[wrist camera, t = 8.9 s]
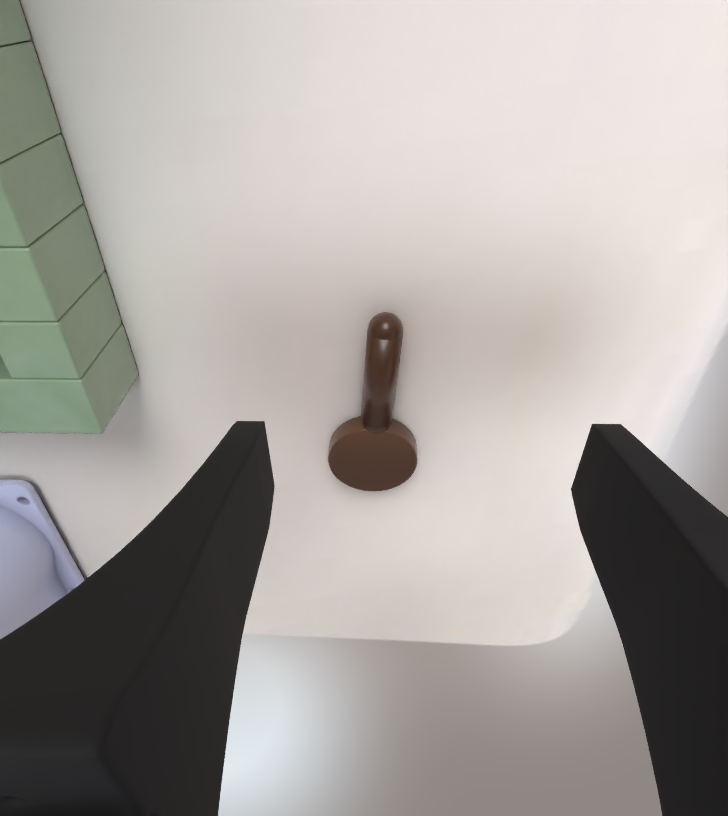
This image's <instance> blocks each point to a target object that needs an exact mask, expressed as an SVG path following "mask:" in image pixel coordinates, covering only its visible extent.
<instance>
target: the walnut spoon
mask: <svg viewBox="0 0 728 816" xmlns="http://www.w3.org/2000/svg"><path fill="white" fill-rule="evenodd" d="M402 337H403V326H402V323H401V321H400V319H399V318H398V317H397V316H395V315H394V314H392V313H388V312H383V313H380V314H377V315H376V316H374V317H373V318H372V319H371V321H370V323H369V326H368V333H367V346H366V359H365V372H364V385H363V398H362V411H361V416H360V417H356V418H353V419H351V420H348V421H347V422H345V423H343V424H342V425H341V426H340V427H339V428H338V429H337V430H336V431H335V432H334V433H333V435H332V437H331V440H330V447H329V456H328V462H329V466H330V468H331V471H332V472H333V474H334V475H335V476H336V477H337V478H338V479H339V480H340V481H341V482H343V483H344V484H346V485H348V486H350V487H353V488H356V489H359V490H364V491H382V490H388V489H391V488H394V487H397V486H399V485H401V484H402V483H404V482H405V481H406V480H408V479H409V478H410V477H411V475H412V474H413V473H414V471H415V468H416V465H417V448H416V441H415V438H414V436H413V434H412V433H411V432H410V430H409V429H408V428H407V427H406V426H404V425H403V424H402V423H400V422H398V421H396V420H394V419H392V416H393V408H394V400H395V392H396V384H397V376H398V368H399V360H400V353H401V345H402Z"/></svg>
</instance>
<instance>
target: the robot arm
mask: <svg viewBox="0 0 728 816" xmlns="http://www.w3.org/2000/svg"><path fill="white" fill-rule="evenodd" d="M571 491H572V496H573V501H574V505H575V510H576V514H577V518H578V522H579V526H580V530H581V533H582V536H583V539H584V541H585V544H586V547H587V549H588V552H589V555H590V557H591V560H592V563H593V565H594V568H595V571H596V573H597V576H598V578H599V581H600V583H601V586H602V589H603V591H604V594H605V596H606V599H607V602H608V604H609V607H610V609H611V612H612V614H613V617H614V620H615V622H616V625H617V628H618V631H619V634H620V637H621V640H622V643H623V647H624V650H625V654H626V658H627V661H628V665H629V669H630V673H631V676H632V680H633V683H634V688H635V692H636V696H637V700H638V703H639V708H640V712H641V716H642V720H643V725H644V729H645V733H646V737H647V742H648V746H649V751H650V756H651V760H652V765H653V770H654V774H655V779H656V784H657V788H658V794H659V799H660V804H661V810H662V815H663V816H728V517H727V516H726V515H725V514H723V513H722V512H721V511H719V510H718V509H717V508H716V507H715V506H713V505H712V504H711V503H710V502H708V501H707V500H706V499H705V498H704V497H702V496H701V495H700V494H699V493H698V492H697V491H695V490H694V489H693V488H692V487H691V486H690V485H688V484H687V483H686V482H685V481H684V480H682V479H681V478H680V477H679V476H678V475H677V474H676V473H675V472H674V471H672V470H671V469H670V468H669V467H668V466H667V465H666V464H665V463H664V462H662V461H661V460H660V459H659V458H658V457H657V456H656V455H655V454H654V453H652V452H651V451H650V450H649V449H648V448H647V447H646V446H645V445H644V444H643V443H641V442H640V441H639V440H638V439H637V438H636V437H635V436H634V435H632V434H631V433H630V432H629V431H628V430H627V429H626V428H624V427H623V426H622V425H621V424H592V426H591V429H590V432H589V435H588V439H587V442H586V445H585V448H584V451H583V454H582V457H581V460H580V463H579V466H578V469H577V472H576V476H575V479H574V482H573V485H572V488H571ZM273 494H274V480H273V473H272V467H271V461H270V454H269V448H268V441H267V435H266V428H265V422H264V421H237V422H236V423H235V424H234V425H233V426H232V427H231V428H230V430H229V431H228V432H227V434H226V435H225V436H224V438H223V439H222V440H221V442H220V443H219V444H218V446H217V447H216V448H215V449H214V451H213V452H212V453H211V455H210V456H209V457H208V458H207V460H206V461H205V462H204V463H203V465H202V466H201V467H200V468H199V469H198V471H197V472H196V473H195V474H194V475H193V476H192V478H191V479H190V480H189V481H188V482H187V484H186V485H185V486H184V487H183V488H182V489H181V491H180V492H179V493H178V494H177V495H176V496H175V497H174V498H173V499H172V500H171V501H170V502H169V504H168V505H167V506H166V507H165V508H164V509H163V510H162V511H161V512H160V513H159V514H158V515H157V516H156V517H155V518H154V519H153V520H152V521H151V522H150V523H149V524H148V525H147V526H146V527H145V528H144V529H143V530H142V531H141V532H140V533H139V534H138V535H137V536H136V537H135V538H134V539H133V540H132V541H131V542H130V543H128V544H127V545H126V546H125V547H124V548H123V549H122V550H121V551H120V552H118V553H117V554H116V555H115V556H114V557H113V558H111V559H110V560H109V561H108V562H107V563H105V564H104V565H103V566H102V567H101V568H99V569H98V570H97V571H96V572H95V573H93V574H92V575H91V576H90V577H88V578H87V579H86V580H84V578H83V576H82V574H81V572H80V571H79V569H78V567H77V565H76V563H75V562H74V560H73V558H72V556H71V554H70V552H69V551H68V549H67V547H66V545H65V543H64V541H63V540H62V538H61V536H60V534H59V532H58V530H57V529H56V527H55V525H54V523H53V521H52V520H51V518H50V516H49V514H48V512H47V510H46V509H45V507H44V505H43V503H42V501H41V499H40V498H39V496H38V494H37V492H36V490H35V488H34V487H33V486H32V484H30V483H29V482H27V481H24V480H1V479H0V816H218V809H219V800H220V791H221V782H222V774H223V766H224V758H225V749H226V742H227V734H228V726H229V719H230V712H231V705H232V698H233V690H234V684H235V677H236V670H237V664H238V658H239V651H240V645H241V639H242V634H243V629H244V624H245V620H246V615H247V611H248V607H249V604H250V600H251V596H252V592H253V588H254V584H255V581H256V577H257V573H258V569H259V565H260V561H261V557H262V553H263V550H264V546H265V542H266V538H267V534H268V530H269V525H270V517H271V510H272V502H273Z"/></svg>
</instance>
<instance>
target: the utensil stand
mask: <svg viewBox="0 0 728 816" xmlns="http://www.w3.org/2000/svg"><path fill="white" fill-rule="evenodd" d="M29 40H31V36H30V33H29V30H28V27H27V23H26V20H25V17H24V14H23V11H22V8H21V5H20V2H19V0H0V433H87V434H102V433H103V432H104V430H105V429H106V427H107V425H108V424H109V422H110V420H111V419H112V417H113V415H114V414H115V412H116V410H117V409H118V407H119V405H120V404H121V402H122V400H123V399H124V397H125V395H126V394H127V392H128V391H129V389H130V387H131V386H132V384H133V382H134V381H135V379H136V377H137V376H138V371H137V367H136V364H135V361H134V358H133V355H132V352H131V349H130V345H129V342H128V339H127V336H126V333H125V330H124V327H123V324H121V318H120V315H119V312H118V309H117V306H116V303H115V300H114V297H113V293H112V290H111V287H110V284H109V281H108V278H107V275H106V273H105V272H104V265H103V262H102V259H101V256H100V253H99V249H98V246H97V243H96V240H95V237H94V234H93V231H92V228H91V224H90V221H89V218H88V215H87V212H86V209H85V206H84V205H82V204H83V199H82V196H81V193H80V190H79V187H78V184H77V181H76V177H75V174H74V171H73V168H72V165H71V162H70V159H69V155H68V152H67V149H66V146H65V143H64V140H63V137H62V135H61V134H58V133H60V132H61V130H60V126H59V123H58V120H57V117H56V114H55V111H54V108H53V104H52V101H51V98H50V95H49V92H48V89H47V86H46V83H45V79H44V76H43V73H42V70H41V67H40V64H39V61H38V57H37V54H36V51H35V48H34V45H33V43H32V42H30V41H29Z"/></svg>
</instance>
